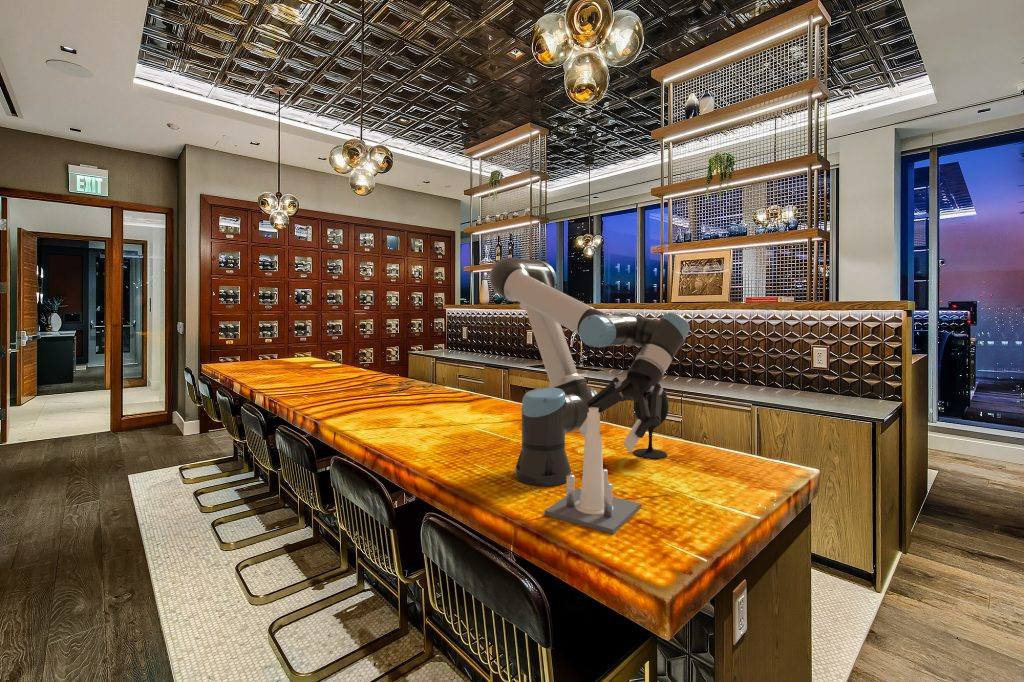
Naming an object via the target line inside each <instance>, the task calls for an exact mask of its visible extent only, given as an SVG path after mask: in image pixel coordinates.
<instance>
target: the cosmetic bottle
mask: <svg viewBox="0 0 1024 682" xmlns="http://www.w3.org/2000/svg"><path fill="white" fill-rule="evenodd" d="M598 411H599V408H595V407H591V408H589V412H588V413H587V433H586V434H585V437H584V447H583V463H582V464H583V466H582V480H581V488H580V489H581V495H580V500H579V505H580V507H582V508H584V509H586V510H592V511H597V510H602V509H604V483H603V469H604V467H603V466H604V465H603V463H604V462H603V439H602V434H601V431H600V430H601V427H600V426H601V413H599V412H598Z"/></svg>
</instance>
